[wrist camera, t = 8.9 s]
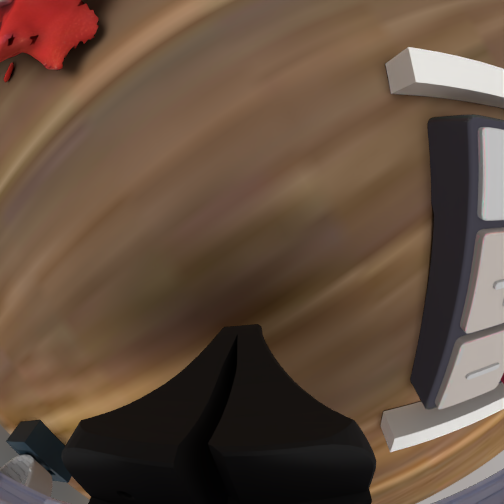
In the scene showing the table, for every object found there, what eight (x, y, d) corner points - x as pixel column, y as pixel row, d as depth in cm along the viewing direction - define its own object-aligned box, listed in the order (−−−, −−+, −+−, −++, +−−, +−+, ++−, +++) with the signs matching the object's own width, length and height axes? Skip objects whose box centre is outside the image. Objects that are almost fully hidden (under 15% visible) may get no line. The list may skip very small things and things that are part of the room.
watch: (13, 422, 19) (-36, 490, 9) (49, 418, 18) (-8, 508, 8) (48, 459, 21) (10, 528, 10) (91, 460, 19) (50, 549, 9)
